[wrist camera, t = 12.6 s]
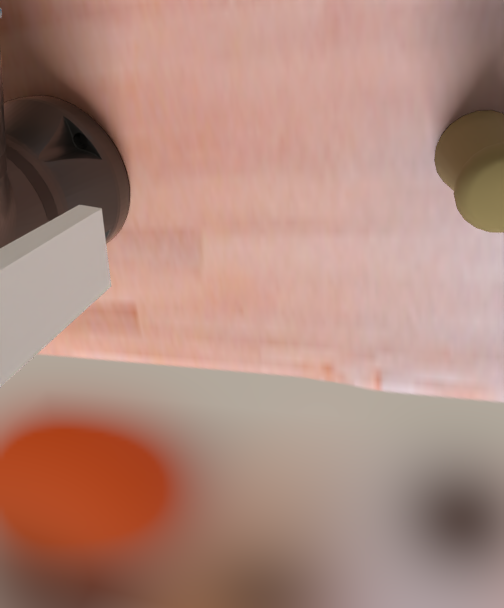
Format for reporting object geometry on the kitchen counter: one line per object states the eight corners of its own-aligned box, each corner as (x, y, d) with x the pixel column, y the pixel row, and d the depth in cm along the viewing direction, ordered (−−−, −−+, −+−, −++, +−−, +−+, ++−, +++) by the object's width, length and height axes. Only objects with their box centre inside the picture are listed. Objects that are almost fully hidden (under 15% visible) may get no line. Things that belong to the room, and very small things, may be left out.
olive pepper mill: (447, 105, 33) (469, 133, 24) (536, 115, 32) (595, 148, 23) (425, 186, 36) (436, 238, 27) (504, 197, 35) (544, 255, 26)
